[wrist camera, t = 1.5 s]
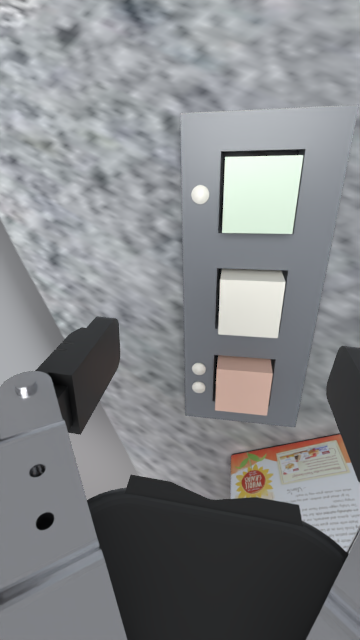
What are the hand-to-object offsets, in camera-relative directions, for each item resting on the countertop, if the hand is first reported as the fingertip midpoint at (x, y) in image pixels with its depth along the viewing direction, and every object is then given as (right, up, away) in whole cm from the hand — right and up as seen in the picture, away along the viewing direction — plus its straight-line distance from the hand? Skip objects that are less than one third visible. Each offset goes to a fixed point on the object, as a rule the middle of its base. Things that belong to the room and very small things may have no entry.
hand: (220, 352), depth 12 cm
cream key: (+5, +3, +18) cm, 19 cm away
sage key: (+5, +11, +14) cm, 18 cm away
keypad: (+5, +4, +19) cm, 20 cm away
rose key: (+5, -5, +22) cm, 23 cm away
